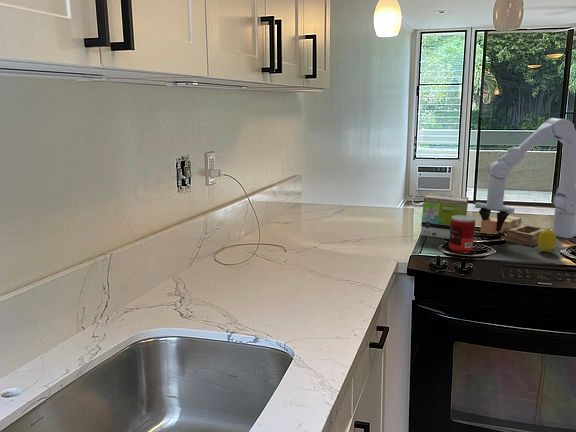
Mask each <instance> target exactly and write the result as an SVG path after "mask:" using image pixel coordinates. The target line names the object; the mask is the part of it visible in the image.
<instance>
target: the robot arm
mask: <svg viewBox="0 0 576 432" xmlns="http://www.w3.org/2000/svg"><path fill="white" fill-rule="evenodd" d="M552 138H553V139H554V138H556V139H557V140H558V141H559V142H560V143H562V150H561V153H562V154H561V165H560V178H559V186H558V187H557V188H556V193H555V195H554V197H553V200H552V201H553V202H552V203H553V205H554V207H555V208H554V214H553V224H552V229H551V231H553V232H554V233H555V235H556V237H559V238H563V239H564V238H565V239H568V238H570V239H573V238H575V237H576V128H575V124H574V123H573V122H572V121H570V120H568V119H567V118H556V117H550V118H549V119H547V120H546V121H545V122H543V123H542V124H540V125H539V127H537V129H535V131H533V132H532V134H530V135H529V136H528V137H527V138H525V139H524V141H522V143H520V144H519V146H512V147H508V148H507V150H506V152H505V153H504V154H502V156H501V157H497V159H496V161H493V162H492V163H490V164H489V167H488V168H487V173H488V174H489V179H488V187H487V188H488V189H487V197H486V203H485V202H480V201H479V202H478V201H477V202H475V204H474V208H475V209H479V210H478V213H479V215H480V218H481V221H483V220H486V219H490V215H491V212H492V211H493V212H497V213H496V218H497V231H501V228H502V225H503V223H504V221H505V219H506V218H507V216H510V215H512V214H513V215H514V214H515V209H516V208H515V207H509V206H507V205H506V206H505V205H504V200H505V199H504V198H505V190H506V189H505V188H506V178H507V177H508V176H509V174H510V170H513V169H514V168H515V167H516V166H517V165H518V164H519V163H521V162H522V161H523V160H524V159H525V156H526V153H527V152H528V151H530V150H531V149H533V148H534V147H535V146H536V145H538V144H539V143H541V142H542V141H543V140H544V139H552ZM574 236H575V237H574Z"/></svg>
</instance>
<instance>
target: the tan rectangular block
mask: <svg viewBox="0 0 576 432" xmlns="http://www.w3.org/2000/svg"><path fill="white" fill-rule="evenodd" d="M503 229H504V223H503V225H502V228H501V231H497V217H491V218H490V217H489V219H486V220H483V221H482V220H481V222H480V232H479V233H486V234H494V233H500V232H501V233H500V234H503V233H504V231H503Z"/></svg>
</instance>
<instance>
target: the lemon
mask: <svg viewBox="0 0 576 432" xmlns="http://www.w3.org/2000/svg"><path fill="white" fill-rule="evenodd" d="M545 229H546V230H543V231H542V232H541V233H540V234H539V236H538V244H537V245H538V247H539V248H540V249H541V250H543V251H544V252H545V253H547V252H548V251H551V250H553V249H554V248H555V246H556V243H557V236H556V235H555V233H554V232H553V231H552V229H550V228H545Z"/></svg>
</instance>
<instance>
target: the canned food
mask: <svg viewBox="0 0 576 432" xmlns="http://www.w3.org/2000/svg"><path fill="white" fill-rule="evenodd" d="M475 226H476V218H475V217H473V216H470V215H467V216H464V215H455V216H452V218H451V227H450V239H448V249H449V250H450V251H453V252H456V253H469V252H472V251H473V248H474V237H475V229H476V227H475ZM471 250H472V251H471Z"/></svg>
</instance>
